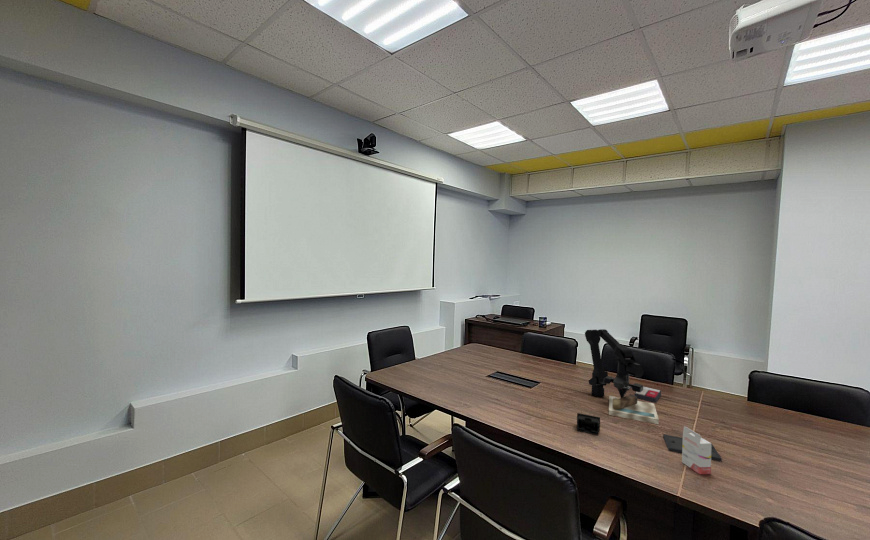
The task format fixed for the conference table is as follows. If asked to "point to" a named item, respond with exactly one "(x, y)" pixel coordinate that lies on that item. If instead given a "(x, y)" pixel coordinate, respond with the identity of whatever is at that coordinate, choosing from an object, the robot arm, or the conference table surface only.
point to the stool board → (635, 411)
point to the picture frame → (676, 446)
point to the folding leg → (624, 402)
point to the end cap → (588, 424)
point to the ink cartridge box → (696, 452)
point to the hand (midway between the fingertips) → (622, 399)
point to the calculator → (649, 394)
